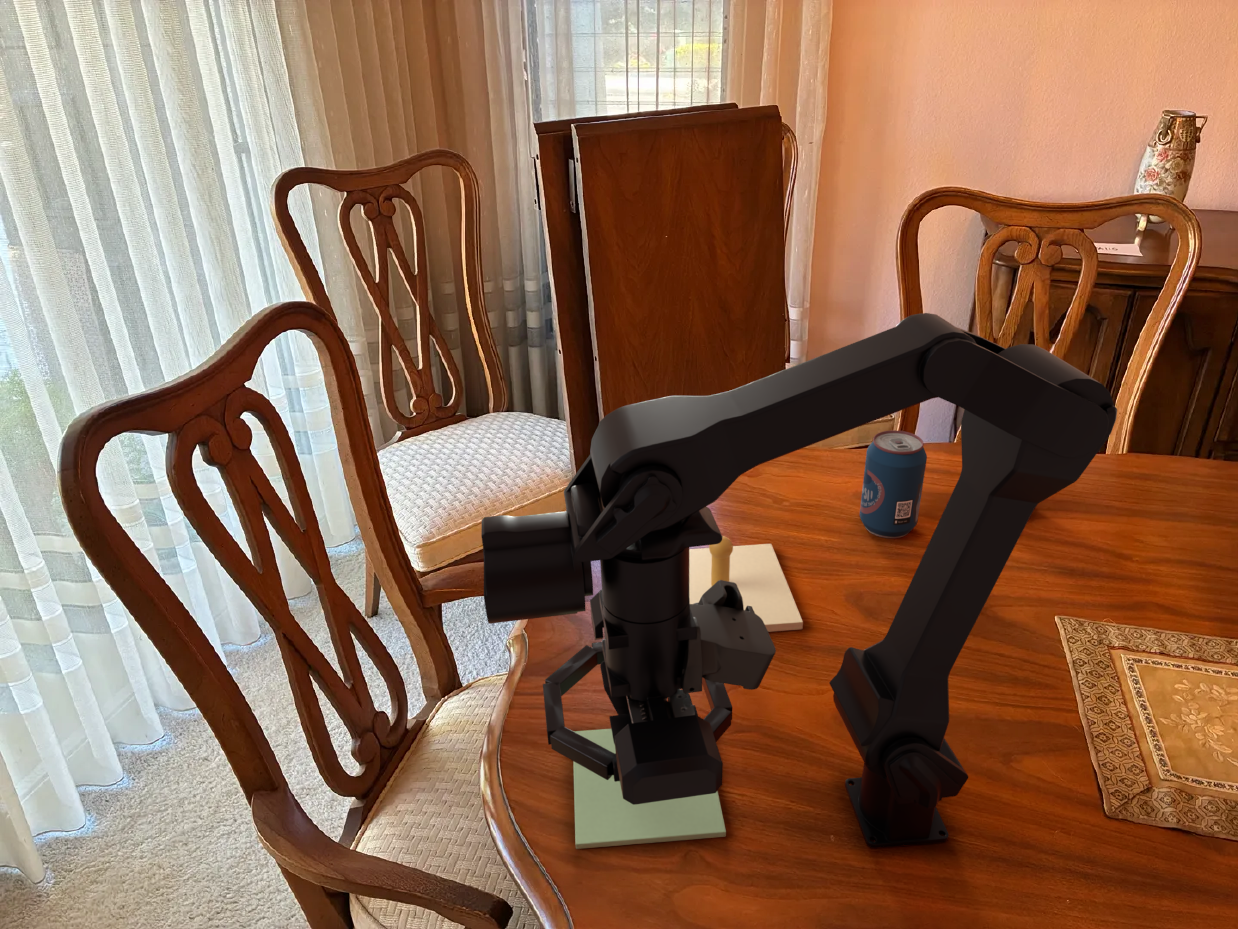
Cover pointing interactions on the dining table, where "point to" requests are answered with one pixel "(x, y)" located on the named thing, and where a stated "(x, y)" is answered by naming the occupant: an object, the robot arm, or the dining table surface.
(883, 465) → the soda can
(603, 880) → the dining table surface
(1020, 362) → the robot arm
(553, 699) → the ring
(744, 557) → the stand
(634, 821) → the mat
